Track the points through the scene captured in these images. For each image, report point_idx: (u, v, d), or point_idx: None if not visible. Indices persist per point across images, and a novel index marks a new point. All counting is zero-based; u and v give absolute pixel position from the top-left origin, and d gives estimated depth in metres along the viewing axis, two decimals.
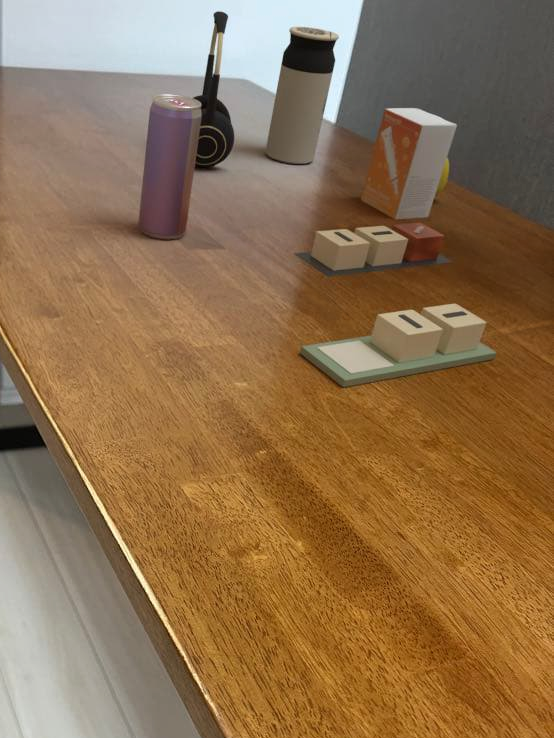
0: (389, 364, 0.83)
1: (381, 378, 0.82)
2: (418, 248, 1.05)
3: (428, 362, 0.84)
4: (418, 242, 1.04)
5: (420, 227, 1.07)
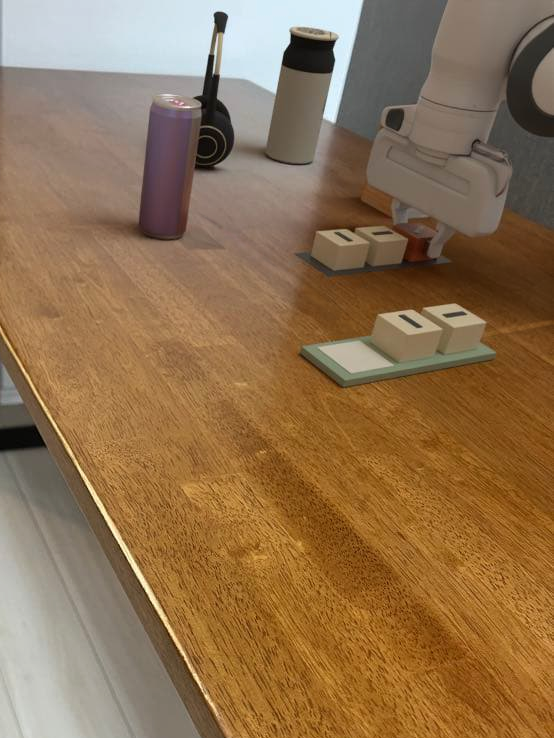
0: (389, 364, 0.83)
1: (381, 378, 0.82)
2: (419, 248, 1.05)
3: (428, 362, 0.84)
4: (418, 242, 1.04)
5: (420, 227, 1.07)
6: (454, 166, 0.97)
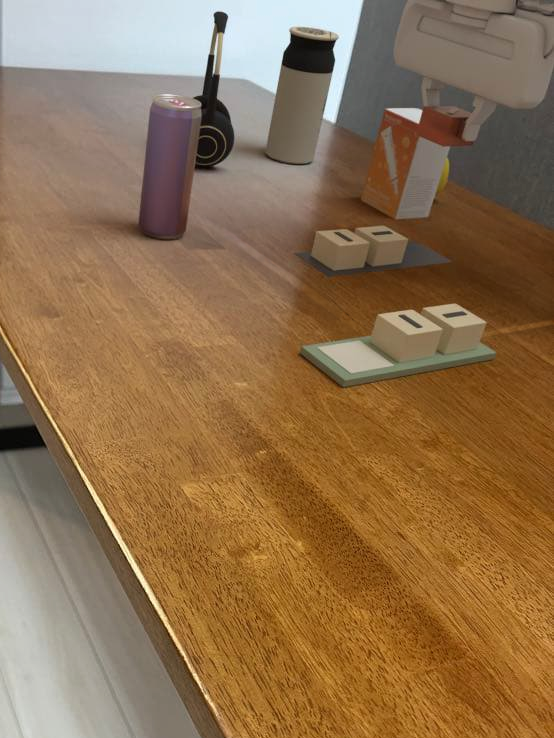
0: (389, 364, 0.83)
1: (381, 378, 0.82)
2: (453, 130, 0.94)
3: (428, 362, 0.84)
4: (452, 122, 0.93)
5: (454, 109, 0.95)
6: (496, 27, 0.86)
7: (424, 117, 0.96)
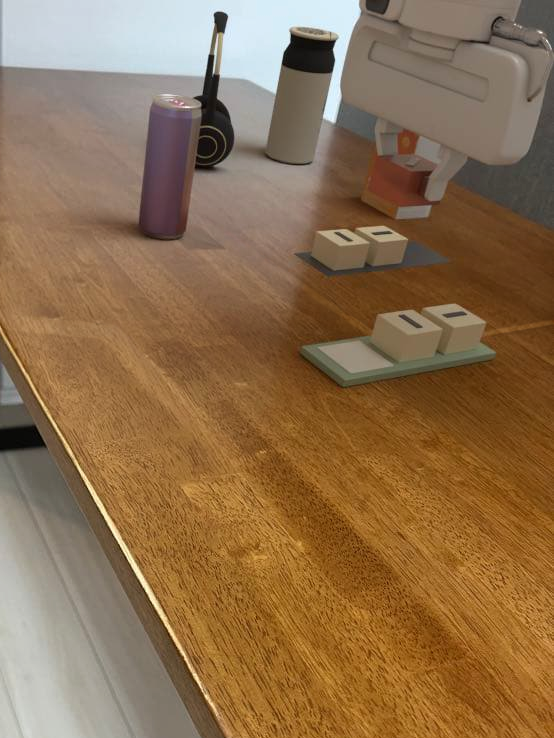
0: (389, 364, 0.83)
1: (381, 378, 0.82)
2: (413, 187, 0.73)
3: (428, 362, 0.84)
4: (412, 177, 0.73)
5: (415, 159, 0.75)
6: (465, 59, 0.66)
7: (377, 169, 0.75)
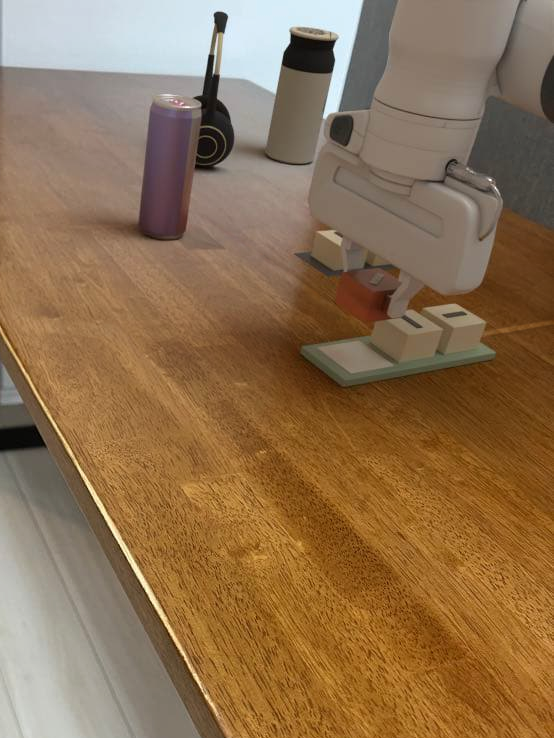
0: (389, 364, 0.83)
1: (381, 378, 0.82)
2: (376, 305, 0.77)
3: (428, 362, 0.84)
4: (375, 297, 0.76)
5: (379, 275, 0.79)
6: (421, 196, 0.69)
7: (343, 285, 0.79)
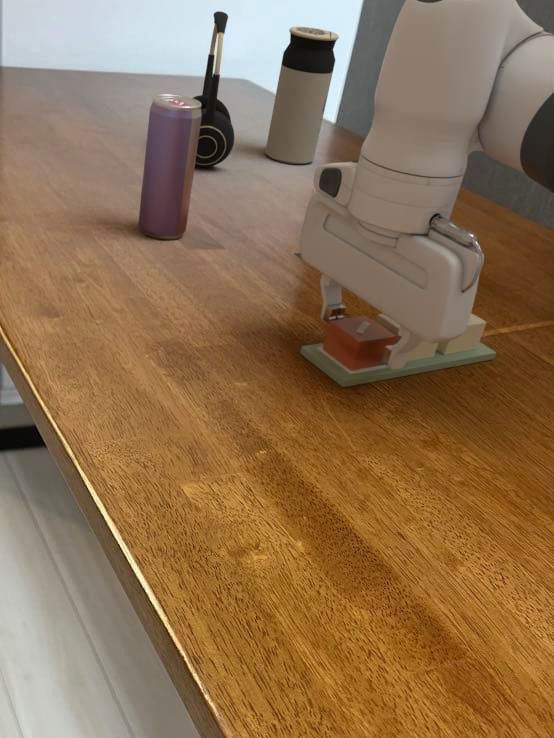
0: None
1: (381, 378, 0.82)
2: (362, 353, 0.80)
3: (428, 362, 0.84)
4: (361, 346, 0.79)
5: (365, 324, 0.82)
6: (407, 248, 0.72)
7: (330, 333, 0.82)
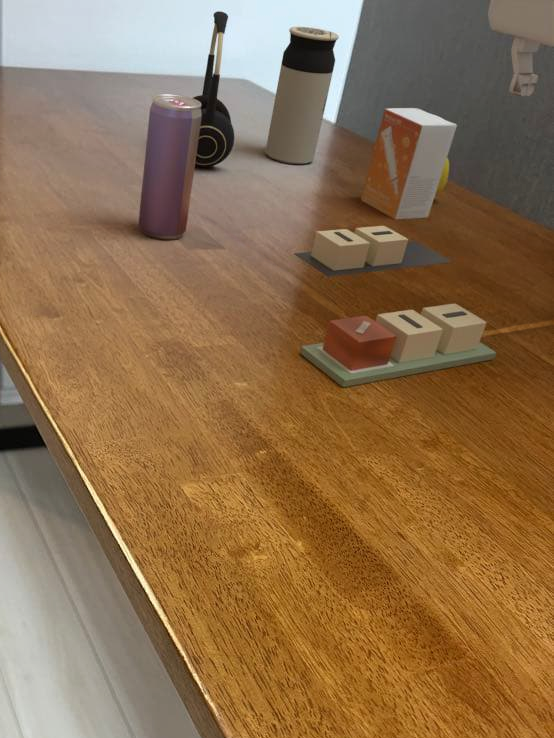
0: (389, 364, 0.83)
1: (381, 378, 0.82)
2: (362, 353, 0.80)
3: (428, 362, 0.84)
4: (361, 346, 0.79)
5: (365, 324, 0.82)
6: None
7: (330, 333, 0.82)
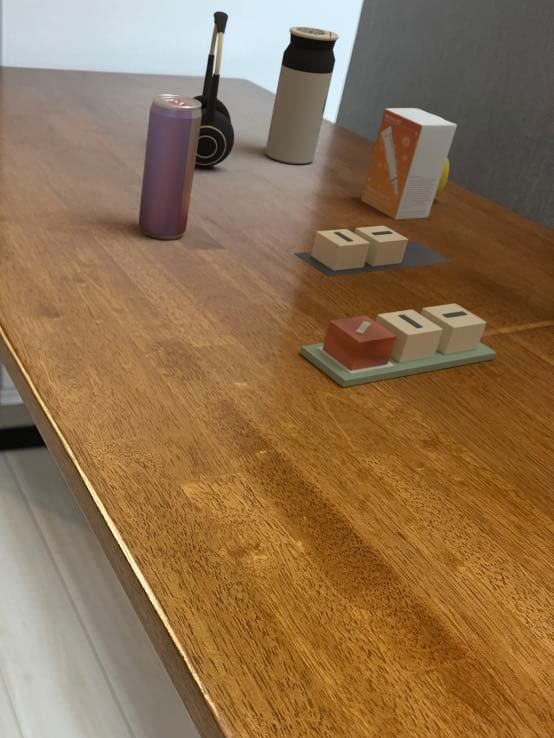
0: (389, 364, 0.83)
1: (381, 378, 0.82)
2: (362, 353, 0.80)
3: (428, 362, 0.84)
4: (361, 346, 0.79)
5: (365, 324, 0.82)
6: None
7: (330, 333, 0.82)
